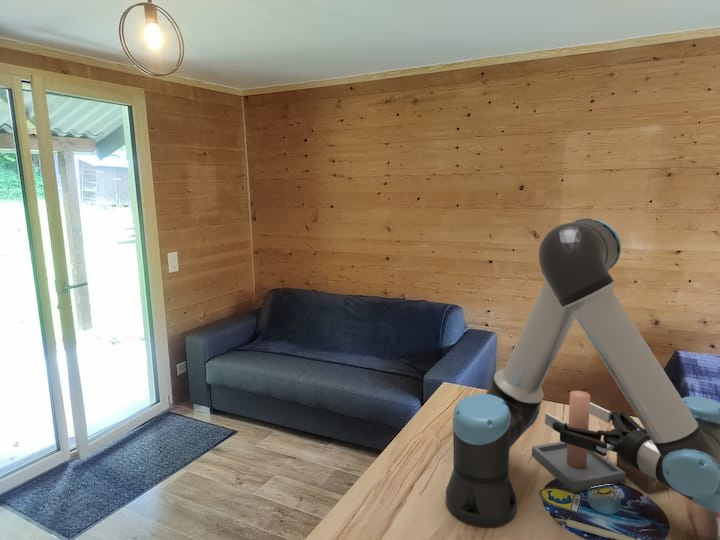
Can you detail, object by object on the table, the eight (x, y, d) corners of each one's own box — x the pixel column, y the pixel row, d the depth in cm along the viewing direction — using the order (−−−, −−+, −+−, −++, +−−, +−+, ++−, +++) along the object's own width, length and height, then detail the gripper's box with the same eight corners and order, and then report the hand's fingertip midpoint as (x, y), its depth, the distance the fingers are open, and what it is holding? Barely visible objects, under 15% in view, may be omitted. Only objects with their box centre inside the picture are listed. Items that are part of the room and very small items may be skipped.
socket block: (647, 493, 107) (649, 475, 107) (616, 469, 117) (617, 452, 116) (683, 486, 110) (684, 468, 109) (649, 463, 119) (650, 446, 118)
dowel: (574, 470, 115) (578, 399, 112) (562, 460, 119) (566, 391, 116) (590, 467, 116) (594, 397, 113) (578, 457, 120) (581, 389, 117)
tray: (572, 492, 109) (572, 482, 108) (531, 455, 124) (532, 446, 124) (625, 482, 112) (625, 472, 111) (579, 447, 127) (579, 438, 127)
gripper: (603, 487, 95) (527, 438, 115) (686, 456, 105) (603, 415, 124) (605, 452, 94) (528, 408, 113) (689, 424, 103) (604, 388, 123)
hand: (567, 412), depth 119 cm, fingers open, 13 cm apart
